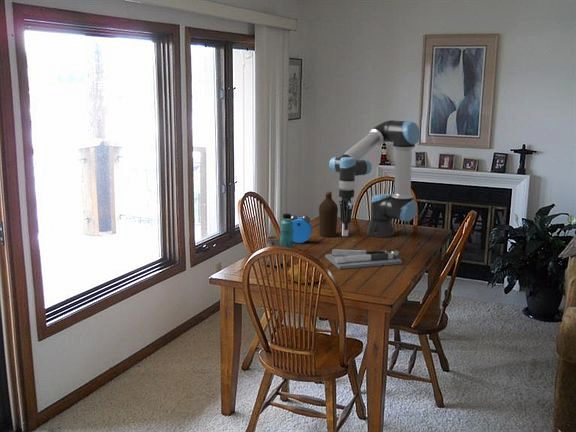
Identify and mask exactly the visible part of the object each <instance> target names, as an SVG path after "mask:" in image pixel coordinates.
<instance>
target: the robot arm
mask: <svg viewBox="0 0 576 432" xmlns="http://www.w3.org/2000/svg"><path fill="white" fill-rule="evenodd" d="M420 138H421V133H420V127H419V125H418V124H417V123H415V122H414V121H410V120H409V121H408V120H392V119H391V120H386V121H383V122H382V123H379V124H377V125H376V126H374V127H373V128H371V129H370V130H369V132H368V134H367V135H366V136H364V137H363V138H362V139H361V140H359V141H358V142H356V143H355V144H354V145H353V146H352V147H350V148H349V149H348V150H347V151H345V152H344V153H343V154H341V155H340V156H339V157H338V156H333V157H331V158H330V160H329V164H328V166H329V169H330V170H331V171H332V172H334V173H339V181H338V197H340V198H341V200H339V201H338V203H339V213H340V221H341V223H342V225H341V226H342V228H341V236H342V237H348V236H349V224H351V223H352V215H353V214H352V213H353V210H354V209H353V208H354V205H353V204H352V198H354V197H355V184H356V182H355V180H356V179H355V178H356V177H358V176H366V175H368V174H370V173H371V172H372V170H373V169H372V167H373V166H372V163H371V161H369V160H368V159H363V157H365V156H366V155H367V154H369V152H371V151H372V150H374V148H375V147H377V146H381V145H383V144H384V143H392V147H393V149H394V150H395V157H394V158H395V159H394V160H395V162H394V163H395V164H394V193H393V194H392V193H378V194H374V195H372V197H371V202H370V222H369V224H368V227H367V231H366V234H367V235H368V236H370V237H376V238H390V237H393V236H394V235H395V229H394V226H393V222H392V220H397V221H402V222H410V221H412V220H413V219H414V217H415V216H416V214H417V212H418V204H417V202H416V201H415V200H414V195H413V194H412V193H411V190H412V189H411V187H412V183H411V182H412V159H413V158H412V157H413V156H412V155H413V152H412V151H413V149H414V148H415V147H416V144H418V142H419V141H420Z"/></svg>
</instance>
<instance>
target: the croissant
mask: <svg viewBox="0 0 576 432" xmlns="http://www.w3.org/2000/svg"><path fill="white" fill-rule="evenodd" d="M305 263H306V262H302V284H301V285H305V284H304V280H305ZM298 264H299V263H297V264H294V265H293V266H294V280H295V282H294V283H297V281H298ZM287 273H288V277H289V279H288V280H289V281H291V267H290V268H289V269H288V271H287ZM311 276H312V267H310V268H309V278H308V279H309V282H310V281H311ZM288 277H287V278H288ZM291 282H292V281H291ZM317 282H320V281H319V277H318V273H317V272H316V273H315V283H314V284H316V283H317Z"/></svg>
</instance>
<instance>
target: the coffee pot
mask: <svg viewBox="0 0 576 432" xmlns="http://www.w3.org/2000/svg"><path fill="white" fill-rule="evenodd" d="M265 239H266V241H267V244H266V246H265V248H266V247H269V246H279V247H281V246H280V236H274V235H272V236H271V235H270V236H267V237H266V238H265ZM261 262H263V260H262V259H261ZM280 263H281V265H282V264H283V263H282V258H281V257H280ZM267 265H268V267H271V266H270V260H269V257H268V258H267ZM267 265H266V266H267ZM273 267H277V266H276V259H275V258H274V266H273Z"/></svg>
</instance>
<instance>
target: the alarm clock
mask: <svg viewBox="0 0 576 432" xmlns="http://www.w3.org/2000/svg"><path fill="white" fill-rule="evenodd" d="M288 220H291V221H292V222H293V243H295V244H296V243H297V244H302V243H305V242H308V240H309V239H310V237H311V235H312V232H313V228H312V224H311V222H310V221H311V218H310V217H309V215H307V214H306V215H305V214H304V215H302V216H301V215H296V214H291V218H290V219H288Z"/></svg>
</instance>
